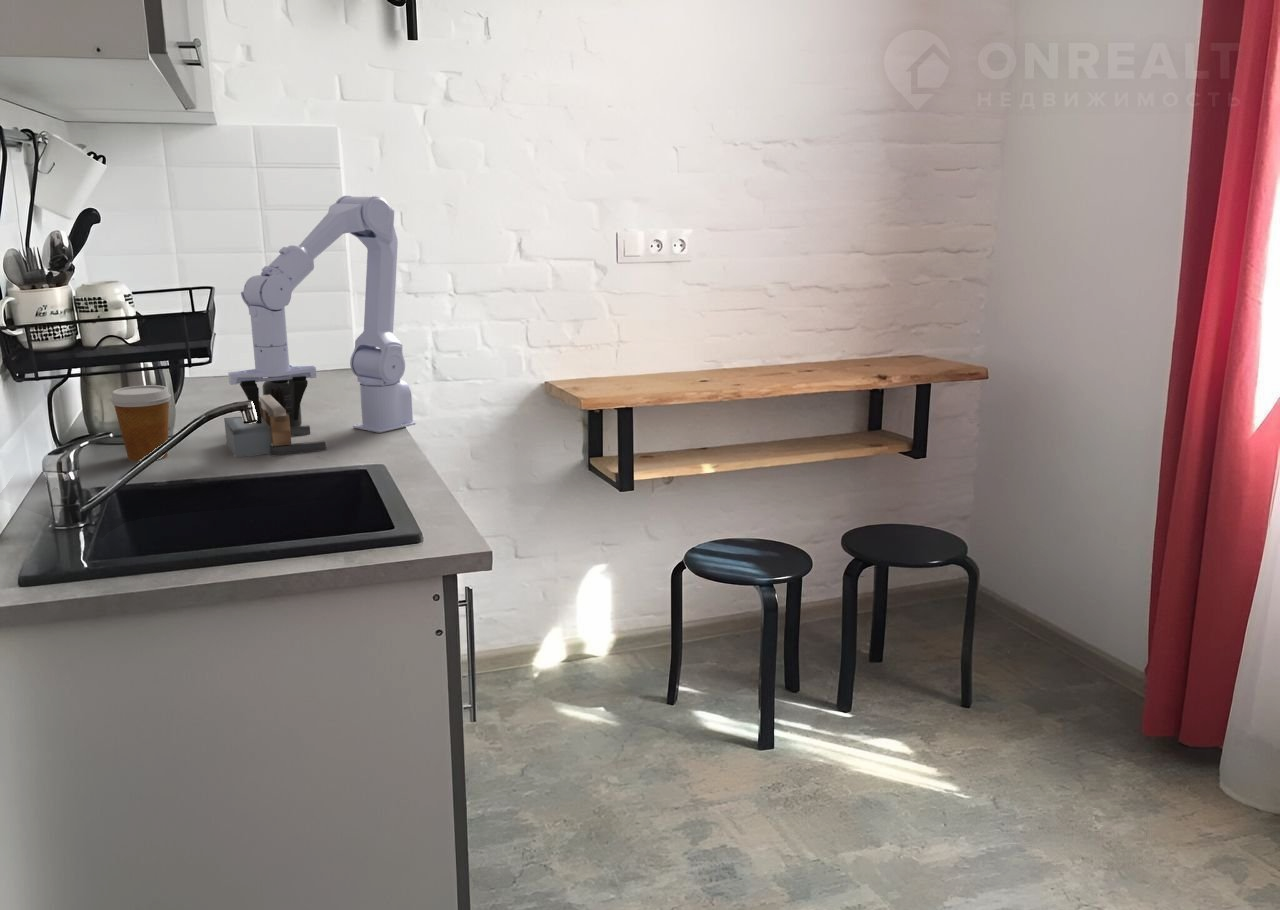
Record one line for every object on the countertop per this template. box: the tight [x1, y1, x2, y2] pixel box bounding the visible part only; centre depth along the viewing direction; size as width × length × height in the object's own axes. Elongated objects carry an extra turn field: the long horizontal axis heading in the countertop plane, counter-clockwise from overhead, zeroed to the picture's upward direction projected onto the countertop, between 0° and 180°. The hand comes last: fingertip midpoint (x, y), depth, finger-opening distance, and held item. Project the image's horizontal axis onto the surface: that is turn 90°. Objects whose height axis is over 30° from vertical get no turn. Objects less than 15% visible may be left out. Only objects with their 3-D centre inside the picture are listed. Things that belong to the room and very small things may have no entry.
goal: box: [223, 416, 273, 458], centre depth 193 cm, size 6×11×5 cm, turn 28°
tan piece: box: [259, 394, 292, 446], centre depth 195 cm, size 3×16×7 cm, turn 28°
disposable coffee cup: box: [110, 384, 172, 463], centre depth 186 cm, size 10×10×12 cm
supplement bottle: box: [261, 364, 303, 427], centre depth 209 cm, size 7×7×12 cm
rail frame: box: [269, 424, 327, 457], centre depth 197 cm, size 10×15×2 cm, turn 28°
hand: (277, 420), depth 191 cm, fingers open, 6 cm apart
